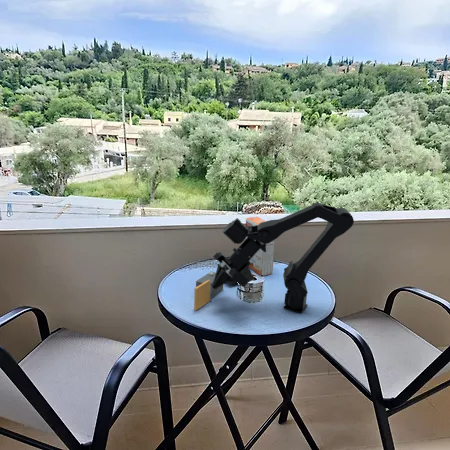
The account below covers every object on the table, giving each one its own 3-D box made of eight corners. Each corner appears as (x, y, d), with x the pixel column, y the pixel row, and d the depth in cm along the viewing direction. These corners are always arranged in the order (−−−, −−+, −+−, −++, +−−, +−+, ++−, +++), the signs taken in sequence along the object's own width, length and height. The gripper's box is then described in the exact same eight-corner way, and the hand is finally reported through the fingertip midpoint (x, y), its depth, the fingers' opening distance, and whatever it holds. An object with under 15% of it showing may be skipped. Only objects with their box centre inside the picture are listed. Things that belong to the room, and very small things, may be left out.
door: (209, 300, 150) (209, 278, 147) (211, 301, 149) (212, 279, 147) (193, 310, 143) (194, 288, 140) (196, 311, 142) (196, 288, 139)
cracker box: (242, 264, 182) (245, 217, 176) (254, 262, 185) (257, 216, 178) (260, 277, 170) (263, 227, 164) (272, 274, 173) (276, 225, 167)
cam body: (223, 289, 158) (224, 273, 156) (209, 300, 150) (209, 282, 148) (210, 286, 161) (211, 269, 159) (195, 296, 153) (196, 278, 150)
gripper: (271, 277, 137) (239, 313, 137) (248, 256, 154) (219, 289, 153) (250, 257, 132) (216, 295, 132) (228, 238, 149) (198, 271, 148)
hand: (213, 287), depth 141 cm, fingers closed
